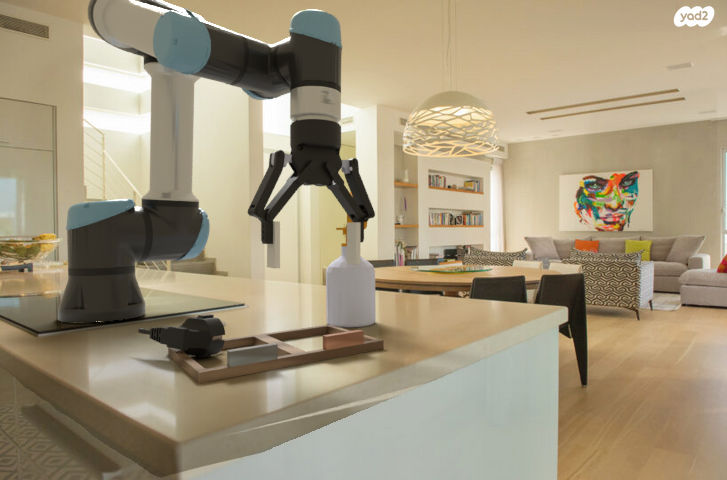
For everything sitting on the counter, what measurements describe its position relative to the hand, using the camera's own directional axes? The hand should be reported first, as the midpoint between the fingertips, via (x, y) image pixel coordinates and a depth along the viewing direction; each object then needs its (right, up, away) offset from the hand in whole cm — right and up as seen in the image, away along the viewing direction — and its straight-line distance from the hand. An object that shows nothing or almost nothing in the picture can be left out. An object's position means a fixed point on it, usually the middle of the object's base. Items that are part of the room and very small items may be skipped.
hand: (315, 265), depth 70 cm
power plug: (-23, -9, -2) cm, 25 cm away
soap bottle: (+5, -12, +17) cm, 21 cm away
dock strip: (-5, -12, -4) cm, 14 cm away
